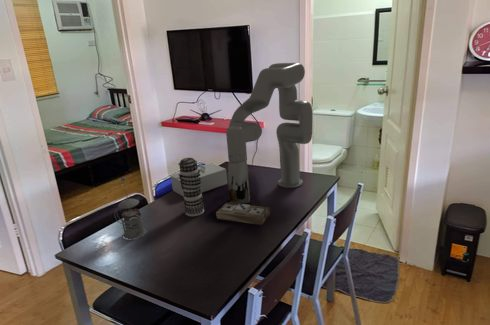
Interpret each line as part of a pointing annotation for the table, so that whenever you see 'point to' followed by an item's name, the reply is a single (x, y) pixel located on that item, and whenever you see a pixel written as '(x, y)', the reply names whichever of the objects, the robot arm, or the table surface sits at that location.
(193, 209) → the decorative candle
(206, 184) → the tissue box
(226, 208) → the tile one
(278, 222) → the table surface
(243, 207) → the tile three
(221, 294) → the table surface
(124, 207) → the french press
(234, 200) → the coffee box
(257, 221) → the wooden dot tile board
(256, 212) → the tile two
